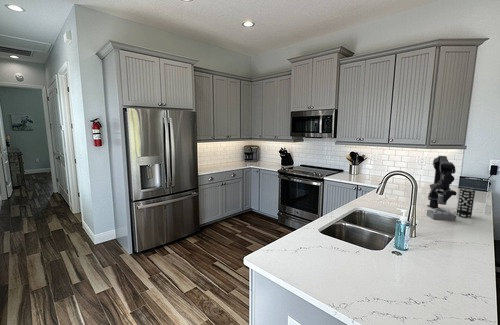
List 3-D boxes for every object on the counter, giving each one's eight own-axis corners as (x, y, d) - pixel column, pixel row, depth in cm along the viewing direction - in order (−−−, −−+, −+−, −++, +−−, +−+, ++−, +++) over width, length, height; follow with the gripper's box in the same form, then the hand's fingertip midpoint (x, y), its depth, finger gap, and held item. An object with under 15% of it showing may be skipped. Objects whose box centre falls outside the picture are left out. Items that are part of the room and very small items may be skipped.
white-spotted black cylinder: (474, 218, 172) (478, 191, 169) (462, 218, 172) (466, 191, 169) (464, 214, 180) (468, 188, 177) (453, 214, 180) (456, 188, 178)
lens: (443, 202, 173) (445, 193, 172) (448, 205, 168) (449, 195, 167) (435, 202, 174) (436, 193, 173) (439, 204, 169) (441, 194, 168)
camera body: (426, 214, 178) (427, 207, 177) (447, 216, 175) (448, 209, 175) (433, 219, 169) (434, 211, 168) (455, 221, 166) (456, 213, 166)
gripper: (425, 177, 179) (423, 197, 181) (439, 182, 161) (436, 204, 163) (442, 178, 177) (439, 198, 179) (458, 183, 159) (455, 206, 161)
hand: (442, 201), depth 171 cm, fingers closed on lens, 5 cm apart
